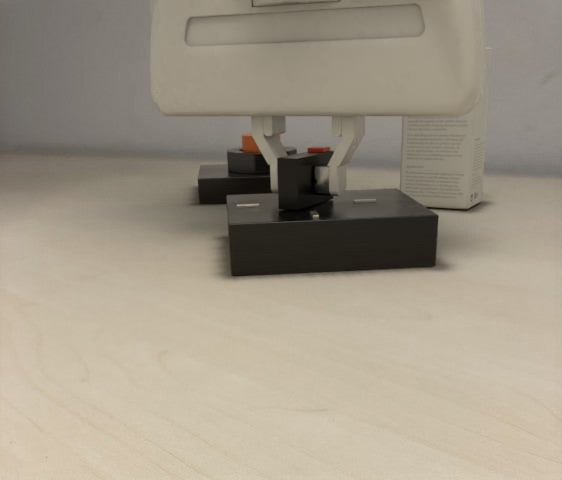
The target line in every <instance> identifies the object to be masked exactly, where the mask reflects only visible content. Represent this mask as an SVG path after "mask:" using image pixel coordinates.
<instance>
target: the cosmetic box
mask: <svg viewBox="0 0 562 480" xmlns="http://www.w3.org/2000/svg"><path fill="white" fill-rule="evenodd" d="M493 51H494V50H493V48H492V47H487V46H486V78H485V89H484V95H483V98H482V99H481V101H480V102H479V103H478V104H477V106H476V107H475V108H474V109H473V110H472V111H471V112H470V113H468V114H466V115H462V116H401V117H402V118H401V145H400V172H399V190H400V191H402V192H403V193H405V194H406V195H408V196H410V197H411V198H413V199H414V200H416V201H417V202H419V203H420V204H422V205H423V206H425V207H426V208H438V209H454V210H468V209H470V208H472V207H474V206H475V205H477V204H479V203H480V202H482V199H483V186H484V185H483V184H484V172H485V160H486V147H487V135H488V134H487V132H488V119H489V105H490V94H491V81H492V66H493V53H494V52H493Z"/></svg>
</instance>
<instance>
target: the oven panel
mask: <svg viewBox="0 0 562 480" xmlns="http://www.w3.org/2000/svg"><path fill="white" fill-rule="evenodd" d="M226 200H227V203H226V214H227V216H226V218H227V232H228V246H229V247H228V248H229V260H230V261H229V263H230V274H231V276H233V277H234V276H251V275H274V274H275V275H277V274H294V273H295V274H297V273H315V272H319V273H320V272H338V271H357V270H379V269H381V270H382V269H401V268H403V269H404V268H422V267H423V268H424V267H435V266H436V265H437V249H438V231H439V217H440V216H439V214H437V213H436V212H434V211H433V210H431V209H429V207H425V206H423V205H422V204H420V203H419V202H417V201H416V200H414V199H413V198H411V197H410V196H408V195H406V194H405V193H403V192H402V191H400V188H397V187H396V188H375V189H374V188H373V189H372V188H371V189H349V190H347V189H346V190H345V193H344V194H342V195H340V196H333V199H331V200H328V201H325V202H322V203H319V204H316V205H313V206H310V207H307V208H304V209H301V210H298V211H295V210H284V209H279V206H278V194H276V193H269V194H244V195H227V196H226Z"/></svg>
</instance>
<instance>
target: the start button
mask: <svg viewBox="0 0 562 480" xmlns="http://www.w3.org/2000/svg"><path fill="white" fill-rule="evenodd" d="M278 137H279V139H280V140H281V134H278ZM241 147H242V151H245V152H261V151H260V149H259V148H258V146H257V144H256V142H255V141H254V139H253V137H252V132H248V133H247V132H246V133H243V134H241Z"/></svg>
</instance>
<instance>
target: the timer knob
mask: <svg viewBox="0 0 562 480" xmlns="http://www.w3.org/2000/svg"><path fill="white" fill-rule="evenodd" d="M334 151H335V150H331V146H317V145H315V146H309V147H307V151H304V152H297V154H294V155H289V156H284V157H280V158H277V168H278V206H279V209H284V210H295V211H298V210H301V209H304V208H307V207H310V206H313V205H316V204H319V203H322V202H325V201H328V200H331V199H333V196H324V195H316V193H315V184H316V182H317V181H316V179H315V166H318V165H321V164H325V163H329V161H330V159H331V157H332V155H333V153H334Z"/></svg>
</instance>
